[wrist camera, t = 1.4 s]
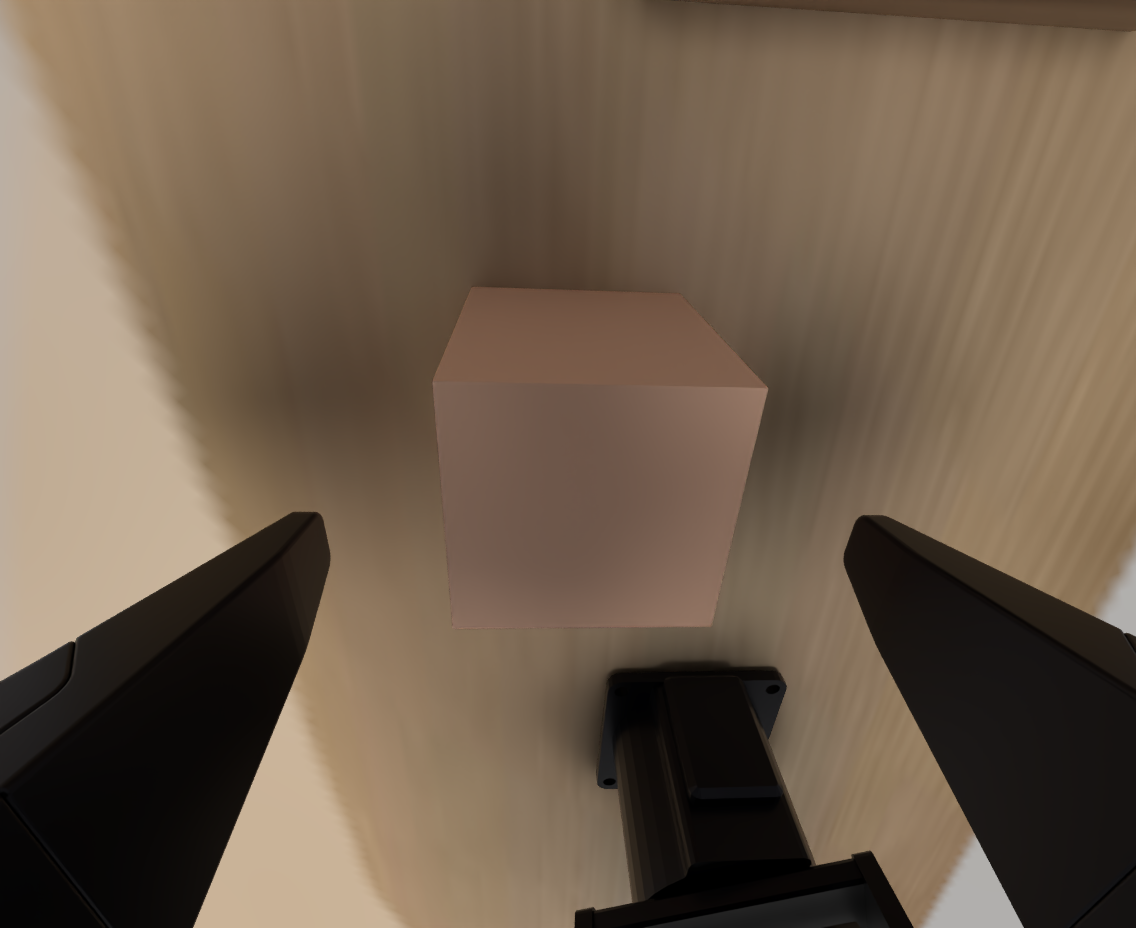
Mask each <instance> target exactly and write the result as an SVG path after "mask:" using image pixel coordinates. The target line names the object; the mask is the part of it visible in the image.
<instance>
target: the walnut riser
mask: <svg viewBox="0 0 1136 928" xmlns="http://www.w3.org/2000/svg"><path fill="white" fill-rule="evenodd" d="M673 1H688V2H703V3H718V4H733V5H747V6H762V7H777V8H792V9H806V10H821V11H836V12H851V13H865V14H880V15H895V16H910V17H924V18H939V19H954V20H969V21H984V22H998V23H1013V24H1028V25H1043V26H1057V27H1072V28H1087V29H1102V30H1116V31H1135V30H1136V0H673Z"/></svg>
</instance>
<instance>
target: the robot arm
mask: <svg viewBox="0 0 1136 928" xmlns="http://www.w3.org/2000/svg"><path fill="white" fill-rule="evenodd" d="M844 566H845V569H846V572H847V574H848V577H849V579H850V582H851V584H852V587H853V589H854V592H855V594H856V597H857V599H858V602H859V605H860V607H861V610H862V612H863V615H864V617H865V620H866V622H867V625H868V627H869V630H870V632H871V634H872V637H873V639H874V641H875V644H876V646H877V648H878V650H879V652H880V654H881V656H882V658H883V660H884V662H885V664H886V666H887V667H888V669H889V671H890V673H891V675H892V677H893V679H894V681H895V683H896V685H897V687H898V688H899V690H900V692H901V694H902V696H903V698H904V700H905V702H906V704H907V706H908V708H909V709H910V711H911V713H912V715H913V717H914V719H915V721H916V723H917V725H918V727H919V729H920V730H921V732H922V734H923V736H924V738H925V740H926V742H927V744H928V746H929V748H930V750H931V751H932V753H933V755H934V757H935V759H936V761H937V763H938V765H939V767H940V769H941V771H942V772H943V774H944V776H945V778H946V780H947V782H948V784H949V786H950V788H951V790H952V792H953V793H954V795H955V797H956V799H957V801H958V803H959V805H960V807H961V809H962V811H963V813H964V814H965V816H966V818H967V820H968V822H969V824H970V826H971V828H972V830H973V832H974V833H975V835H976V837H977V839H978V841H979V843H980V845H981V847H982V849H983V851H984V853H985V854H986V856H987V858H988V860H989V862H990V864H991V866H992V868H993V870H994V871H995V874H996V875H997V877H998V879H999V881H1000V883H1001V885H1002V887H1003V889H1004V891H1005V893H1006V894H1007V896H1008V898H1009V900H1010V902H1011V904H1012V906H1013V908H1014V910H1015V912H1016V914H1017V915H1018V917H1019V919H1020V921H1021V923H1022V925H1023V927H1024V928H1136V636H1133V635H1131V634H1129V633H1123V632H1122V630H1121V629H1119V628H1117V627H1115V626H1113V625H1110V624H1108V623H1106V622H1104V621H1102V620H1100V619H1098V618H1096V617H1094V616H1092V615H1090V614H1088V613H1086V612H1084V611H1082V610H1079V609H1077V608H1075V607H1073V606H1071V605H1069V604H1067V603H1065V602H1063V601H1061V600H1059V599H1057V598H1055V597H1053V596H1051V595H1049V594H1046V593H1044V592H1042V591H1040V590H1038V589H1036V588H1034V587H1032V586H1030V585H1028V584H1026V583H1024V582H1022V581H1020V580H1018V579H1015V578H1013V577H1011V576H1009V575H1007V574H1005V573H1003V572H1001V571H999V570H997V569H995V568H993V567H991V566H989V565H987V564H984V563H982V562H980V561H978V560H976V559H974V558H972V557H970V556H968V555H966V554H964V553H962V552H960V551H958V550H956V549H954V548H951V547H949V546H947V545H945V544H943V543H941V542H939V541H937V540H935V539H933V538H931V537H929V536H927V535H925V534H923V533H920V532H918V531H916V530H914V529H912V528H910V527H908V526H906V525H904V524H902V523H900V522H898V521H896V520H894V519H892V518H889V517H887V516H883V515H863V516H861V517H859V518H858V519H857V520H856V522H855V524H854V527H853V529H852V532H851V535H850V538H849V540H848V543H847V546H846V549H845V552H844ZM329 567H330V549H329V544H328V540H327V535H326V530H325V526H324V521H323V518H322V516H321V515H320V514H319V513H318V512H292V513H290V514H288V515H287V516H285V517H283V518H282V519H280V520H278V521H276V522H275V523H273V524H271V525H270V526H268V527H266V528H264V529H263V530H261V531H259V532H258V533H256V534H254V535H252V536H251V537H249V538H247V539H246V540H244V541H242V542H240V543H239V544H237V545H235V546H233V547H232V548H230V549H228V550H227V551H225V552H223V553H221V554H220V555H218V556H216V557H215V558H213V559H211V560H209V561H208V562H206V563H204V564H203V565H201V566H199V567H197V568H196V569H194V570H193V571H191V572H189V573H187V574H185V575H184V576H182V577H180V578H179V579H177V580H175V581H173V582H172V583H170V584H168V585H167V586H165V587H163V588H161V589H160V590H158V591H156V592H155V593H153V594H151V595H149V596H148V597H146V598H144V599H143V600H141V601H139V602H137V603H136V604H134V605H132V606H130V607H129V608H127V609H125V610H124V611H122V612H120V613H118V614H117V615H115V616H114V617H111V618H110V619H108V620H106V621H105V622H103V623H101V624H99V625H98V626H96V627H94V628H93V629H91V630H89V631H87V632H86V633H84V634H82V635H81V636H79V637H77V639H76V641H75V642H72V641H71V642H68V643H67V644H65V645H63V646H62V647H60V648H58V649H57V650H55V651H53V652H51V653H50V654H48V655H46V656H44V657H43V658H41V659H40V660H38V661H36V662H34V663H32V664H30V665H29V666H27V667H25V668H23V669H22V670H20V671H18V672H16V673H15V674H13V675H11V676H9V677H7V678H6V679H4V680H2V681H0V928H193V927H194V924H195V922H196V919H197V917H198V914H199V912H200V910H201V907H202V905H203V902H204V899H205V897H206V895H207V892H208V890H209V888H210V885H211V883H212V880H213V878H214V875H215V873H216V870H217V868H218V865H219V863H220V860H221V858H222V855H223V853H224V851H225V848H226V846H227V843H228V841H229V839H230V836H231V834H232V831H233V829H234V826H235V824H236V821H237V819H238V816H239V814H240V812H241V809H242V807H243V804H244V802H245V799H246V797H247V794H248V792H249V789H250V787H251V785H252V782H253V780H254V777H255V775H256V772H257V770H258V768H259V765H260V763H261V760H262V758H263V755H264V753H265V750H266V748H267V746H268V743H269V741H270V738H271V736H272V733H273V731H274V728H275V726H276V724H277V721H278V719H279V716H280V714H281V711H282V709H283V706H284V704H285V702H286V699H287V697H288V694H289V692H290V689H291V687H292V684H293V682H294V679H295V677H296V675H297V672H298V670H299V667H300V665H301V662H302V660H303V657H304V654H305V652H306V649H307V646H308V643H309V639H310V636H311V632H312V629H313V625H314V622H315V618H316V614H317V611H318V607H319V603H320V600H321V596H322V592H323V589H324V585H325V581H326V578H327V574H328V571H329ZM786 687H787V686H786V683H785V681H784V679H783V677H782V675H781V674H780V673H779V672H776V671H730V672H654V673H618V674H614V675H612V676H611V677H610V678H608V680H607V683H606V692H605V700H604V709H603V718H602V727H601V735H600V744H599V753H598V761H597V770H596V775H597V784H598V786H599V787H601V788H604V789H618V793H619V801H620V809H621V817H622V825H623V833H624V841H625V848H626V856H627V864H628V872H629V880H630V888H631V896H632V903H630V904H625V905H621V906H616V907H611V908H606V909H601V910H595V909H594V907H592V908H587V909H582V910H577V911H576V912H575V928H914V927H913V926H912V924H911V922H910V920H909V918H908V917H907V915H906V913H905V911H904V909H903V907H902V906H901V904H900V902H899V900H898V898H897V897H896V895H895V893H894V891H893V889H892V887H891V886H890V884H889V882H888V880H887V878H886V877H885V875H884V873H883V871H882V869H881V867H880V866H879V864H878V862H877V860H876V858H875V857H874V855H873V853H872V852H871V851H866V852H861V853H856V854H852V855H851V856H852V859H847V860H842V861H837V862H832V863H827V864H822V865H817V866H816V863H815V861H814V858H813V856H812V853H811V850H810V848H809V845H808V843H807V840H806V837H805V835H804V832H803V830H802V827H801V824H800V822H799V819H798V817H797V814H796V811H795V809H794V806H793V804H792V801H791V799H790V796H789V793H788V791H787V788H786V786H785V783H784V780H783V778H782V775H781V773H780V770H779V767H778V765H777V762H776V760H775V757H774V755H773V752H772V749H771V747H770V744H769V742H768V739H769V736H770V734H771V731H772V728H773V725H774V722H775V720H776V717H777V714H778V711H779V708H780V706H781V703H782V700H783V697H784V694H785V692H786Z"/></svg>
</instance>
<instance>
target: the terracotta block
mask: <svg viewBox="0 0 1136 928" xmlns="http://www.w3.org/2000/svg"><path fill="white" fill-rule="evenodd" d="M432 384H433V396H434V408H435V420H436V433H437V445H438V457H439V469H440V481H441V493H442V505H443V517H444V529H445V541H446V553H447V565H448V578H449V590H450V602H451V614H452V626H453V629H501V628H620V627H712V623H713V619H714V615H715V610H716V606H717V602H718V598H719V594H720V589H721V585H722V581H723V577H724V573H725V568H726V564H727V560H728V556H729V552H730V547H731V543H732V539H733V535H734V530H735V526H736V522H737V518H738V514H739V509H740V505H741V501H742V497H743V493H744V488H745V484H746V480H747V476H748V472H749V467H750V463H751V459H752V455H753V451H754V446H755V442H756V438H757V434H758V429H759V425H760V421H761V417H762V413H763V408H764V404H765V400H766V396H767V392H768V387H767V386H766V385H765V384H764V383H763V382H762V381H761V380H760V379H759V378H758V376H757V375H756V374H755V373H754V372H753V371H752V370H751V369H750V368H749V367H748V366H747V365H746V364H745V363H744V362H743V360H742V359H741V358H740V357H739V356H738V355H737V354H736V353H735V352H734V351H733V350H732V349H731V348H730V347H729V345H728V344H727V343H726V342H725V341H724V340H723V339H722V338H721V337H720V336H719V335H718V334H717V333H716V332H715V330H714V329H713V328H712V327H711V326H710V325H709V324H708V323H707V322H706V321H705V320H704V319H703V318H702V317H701V315H700V314H699V313H698V312H697V311H696V310H695V309H694V308H693V307H692V306H691V305H690V304H689V303H688V302H687V301H686V299H685V298H684V297H683V296H682V295H681V294H680V293H651V292H620V291H589V290H558V289H527V288H496V287H471V289H470V292H469V294H468V297H467V299H466V301H465V304H464V306H463V309H462V311H461V313H460V316H459V318H458V321H457V323H456V325H455V328H454V330H453V333H452V335H451V337H450V340H449V342H448V345H447V347H446V349H445V352H444V354H443V357H442V359H441V361H440V364H439V366H438V369H437V371H436V373H435V376H434V378H433V381H432Z"/></svg>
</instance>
